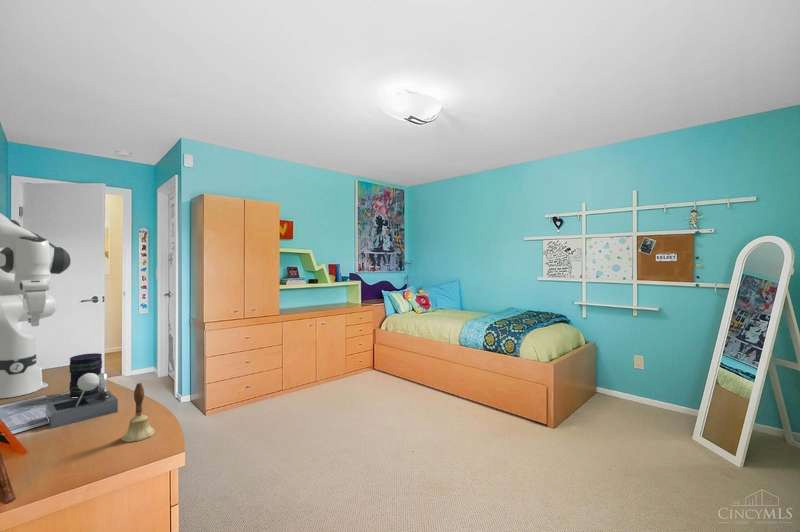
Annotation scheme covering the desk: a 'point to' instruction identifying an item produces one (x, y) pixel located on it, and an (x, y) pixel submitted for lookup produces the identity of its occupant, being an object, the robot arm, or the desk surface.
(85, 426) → the desk surface
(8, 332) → the robot arm
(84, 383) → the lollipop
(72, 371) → the storage jar
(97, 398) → the grey stand
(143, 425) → the hand bell
